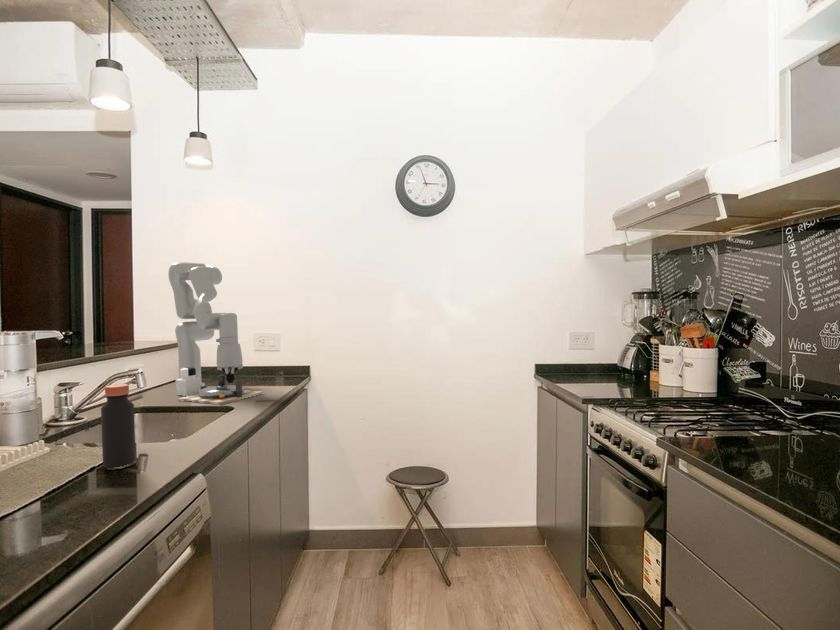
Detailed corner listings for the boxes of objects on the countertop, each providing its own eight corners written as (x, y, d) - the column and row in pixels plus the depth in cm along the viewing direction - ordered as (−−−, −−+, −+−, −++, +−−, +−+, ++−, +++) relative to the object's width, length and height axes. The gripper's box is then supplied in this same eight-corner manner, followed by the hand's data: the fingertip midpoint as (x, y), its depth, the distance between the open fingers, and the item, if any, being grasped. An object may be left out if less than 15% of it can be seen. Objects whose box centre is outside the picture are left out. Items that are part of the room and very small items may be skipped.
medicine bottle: (191, 392, 213) (190, 366, 213) (201, 394, 209) (200, 367, 209) (176, 395, 207) (175, 368, 206) (186, 396, 203) (185, 369, 203)
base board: (177, 400, 195) (177, 381, 195) (223, 390, 217) (223, 373, 217) (220, 405, 185) (219, 384, 185) (263, 393, 207) (263, 375, 207)
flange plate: (190, 398, 188) (190, 382, 188) (206, 389, 209) (205, 375, 208) (237, 396, 191) (237, 380, 191) (248, 387, 211) (248, 373, 211)
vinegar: (98, 472, 112) (95, 388, 111) (108, 463, 118) (106, 384, 118) (131, 469, 114) (128, 387, 113) (139, 460, 120) (136, 382, 120)
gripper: (208, 342, 202) (210, 385, 202) (245, 340, 205) (247, 382, 206) (212, 341, 209) (214, 382, 210) (248, 339, 213) (249, 380, 213)
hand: (230, 382), depth 208 cm, fingers closed
